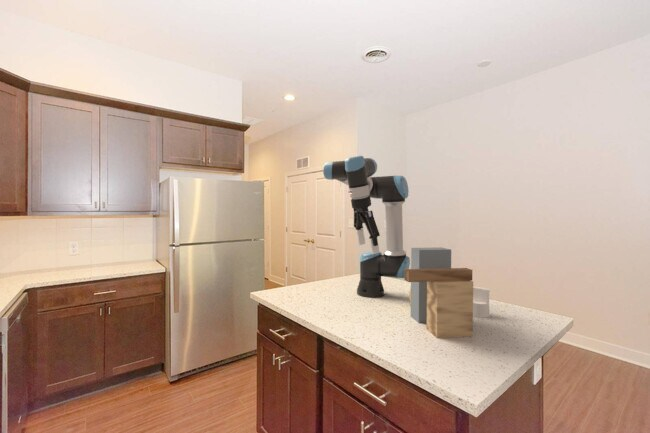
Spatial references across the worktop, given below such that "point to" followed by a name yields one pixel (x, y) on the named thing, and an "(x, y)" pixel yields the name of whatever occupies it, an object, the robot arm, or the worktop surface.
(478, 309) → the cylinder with rectangular tab
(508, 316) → the worktop surface
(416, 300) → the slate-grey stand
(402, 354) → the worktop surface
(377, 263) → the robot arm
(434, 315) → the oak block
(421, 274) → the walnut block
